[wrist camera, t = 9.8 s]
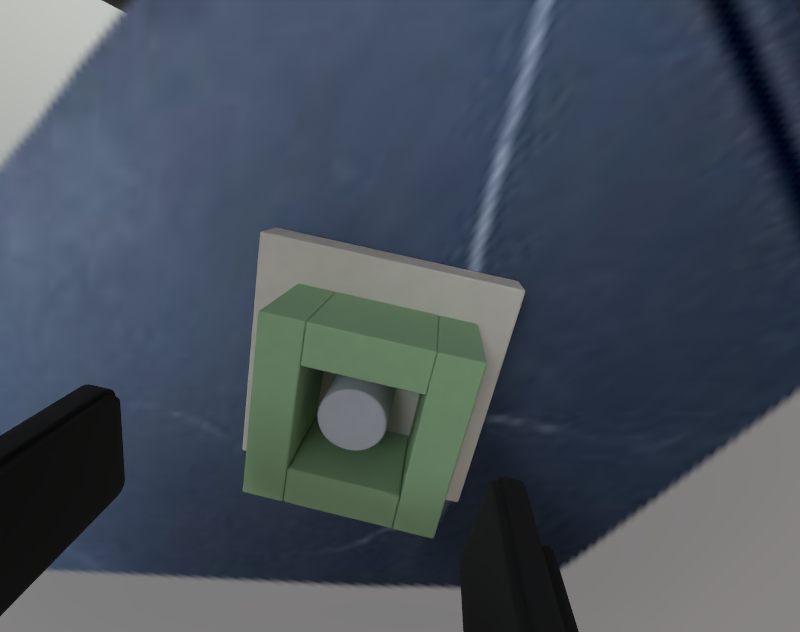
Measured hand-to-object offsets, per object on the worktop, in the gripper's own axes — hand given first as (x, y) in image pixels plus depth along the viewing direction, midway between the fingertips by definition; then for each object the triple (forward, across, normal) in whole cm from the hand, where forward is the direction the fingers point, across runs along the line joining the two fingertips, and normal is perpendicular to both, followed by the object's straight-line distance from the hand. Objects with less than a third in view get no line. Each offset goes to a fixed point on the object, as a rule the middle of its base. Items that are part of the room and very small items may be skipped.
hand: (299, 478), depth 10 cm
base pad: (+8, -1, +1) cm, 8 cm away
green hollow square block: (+6, -1, +1) cm, 7 cm away
